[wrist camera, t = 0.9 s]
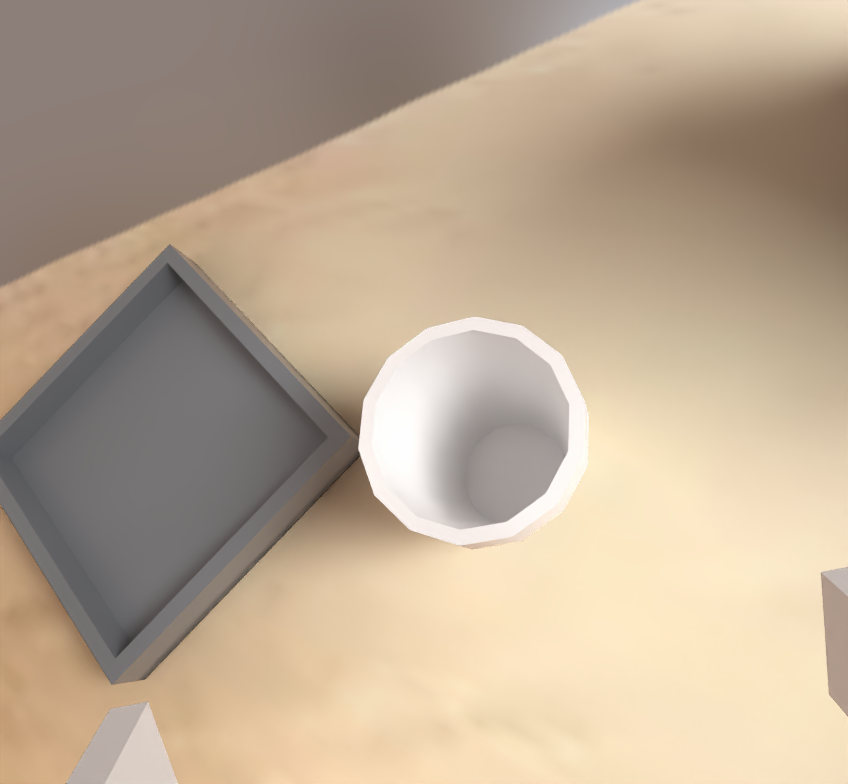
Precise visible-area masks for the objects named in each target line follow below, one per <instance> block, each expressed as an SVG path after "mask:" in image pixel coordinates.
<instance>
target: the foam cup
mask: <svg viewBox="0 0 848 784" xmlns="http://www.w3.org/2000/svg"><path fill="white" fill-rule="evenodd" d="M588 427H589V415H588V411H587V407H586V404H585V401H584V399H583V397H582V394H581V392H580V390H579V388H578V386H577V384H576V382H575V380H574V378H573V376H572V374H571V372H570V370H569V368H568V366H567V364H566V362H565V359H564V357H563V355H561V354H560V353H559V352H557V351H556V350H555V349H553V348H552V347H551V346H549V345H548V344H547V343H545V342H544V341H543V340H541V339H540V338H539V337H537V336H536V335H535V334H533V333H532V332H531V331H529V330H528V329H527V328H525V327H524V326H522V325H517V324H512V323H507V322H501V321H496V320H491V319H486V318H481V317H475V316H474V317H470V318H466V319H462V320H458V321H453V322H449V323H445V324H441V325H437V326H433V327H429V328H426V329H425V330H424V331H422V332H421V333H420V334H418V335H417V336H416V337H414V338H413V339H412V340H410V341H409V342H408V343H406V344H405V345H404V346H402V347H401V348H400V349H399V350H397V351H396V352H395V353H393V354H392V355H391V356H389V357H388V358H387V360H386V362H385V363H384V365H383V367H382V369H381V370H380V372H379V374H378V376H377V377H376V379H375V381H374V383H373V384H372V386H371V388H370V390H369V391H368V393H367V395H366V397H365V398H364V400H363V409H362V418H361V428H360V437H359V447H358V449H359V452H360V455H361V458H362V461H363V464H364V467H365V470H366V473H367V476H368V478H369V481H370V484H371V487H372V490H373V493H374V495H375V496H376V497H377V498H378V499H379V500H380V501H381V502H382V503H383V504H384V505H385V506H386V507H387V508H388V509H389V510H390V511H391V512H392V513H393V514H394V515H395V516H396V517H397V518H398V519H399V520H400V521H401V522H402V523H403V524H404V525H405V526H406V527H407V528H408V529H409V530H411V531H414V532H417V533H420V534H424V535H427V536H430V537H433V538H436V539H440V540H443V541H446V542H449V543H452V544H456V545H459V546H462V547H466V548H469V549H478V548H484V547H490V546H496V545H502V544H508V543H514V542H520V541H523V540H524V539H526V538H527V537H528V536H530V535H531V534H533V533H534V532H535V531H537V530H538V529H540V528H541V527H542V526H544V525H545V524H547V523H548V522H549V521H551V520H552V519H553V518H555V517H556V516H558V515H559V514H560V513H562V512H563V511H564V510H565V508H566V506H567V504H568V502H569V500H570V498H571V496H572V494H573V493H574V491H575V489H576V487H577V485H578V483H579V481H580V479H581V477H582V476H583V474H584V472H585V470H586V468H587V466H588Z"/></svg>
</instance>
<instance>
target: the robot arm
mask: <svg viewBox="0 0 848 784" xmlns="http://www.w3.org/2000/svg"><path fill="white" fill-rule="evenodd" d="M821 580H822V596H823V611H824V626H825V641H826V657H827V672H828V687H829V695H830V696H831V697H832V699H833V700H834V701H835V702H836V703H837V704H838V706H839V707H840V708H841V709H842V710H843V711H844V713H845V714H846V715H847V716H848V567H846V568H841V569H835V570H830V571H825V572H821ZM66 784H178V782H177V780H176V777H175V774H174V771H173V769H172V766H171V763H170V760H169V758H168V755H167V752H166V749H165V747H164V744H163V741H162V739H161V736H160V733H159V730H158V728H157V725H156V722H155V719H154V717H153V714H152V711H151V708H150V706H149V703H148V702H144V703H139V704H134V705H129V706H124V707H118V708H113V709H110V710H109V712H108V714H107V715H106V717H105V719H104V720H103V722H102V724H101V725H100V727H99V729H98V730H97V732H96V734H95V735H94V737H93V739H92V741H91V742H90V744H89V746H88V747H87V749H86V751H85V752H84V754H83V756H82V757H81V759H80V761H79V762H78V764H77V766H76V767H75V769H74V771H73V772H72V774H71V776H70V778H69V779H68V781H67V783H66Z"/></svg>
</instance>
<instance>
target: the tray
mask: <svg viewBox="0 0 848 784" xmlns="http://www.w3.org/2000/svg"><path fill="white" fill-rule="evenodd" d="M359 437H360V436H359V435H358V434H357V433H356V432H355V431H354V430H353V429H352V428H351V427H350V426H349V425H348V424H347V423H346V422H345V421H344V420H343V418H342V417H341V416H340V415H339V414H338V413H337V412H336V411H335V410H334V409H333V408H332V407H331V406H330V405H329V404H328V403H327V402H326V401H325V399H324V398H323V397H322V396H321V395H320V394H319V393H318V392H317V391H316V390H315V389H314V388H313V387H312V386H311V385H310V384H309V383H308V382H307V381H306V379H305V378H304V377H303V376H302V375H301V374H300V373H299V372H298V371H297V370H296V369H295V368H294V367H293V366H292V365H291V364H290V363H289V362H288V361H287V359H286V358H285V357H284V356H283V355H282V354H281V353H280V352H279V351H278V350H277V349H276V348H275V347H274V346H273V345H272V344H271V343H270V342H269V340H268V339H267V338H266V337H265V336H264V335H263V334H262V333H261V332H260V331H259V330H258V329H257V328H256V327H255V326H254V325H253V324H252V323H251V322H250V320H249V319H248V318H247V317H246V316H245V315H244V314H243V313H242V312H241V311H240V310H239V309H238V308H237V307H236V306H235V305H234V304H233V303H232V301H231V300H230V299H229V298H228V297H227V296H226V295H225V294H224V293H223V292H222V291H221V290H220V289H219V288H218V287H217V286H216V285H215V284H214V283H213V281H212V280H211V279H210V278H209V277H208V276H207V275H206V274H205V273H204V272H203V271H202V270H201V269H200V268H199V267H198V266H197V265H196V264H195V263H194V262H193V261H192V260H190V259H189V258H188V257H186V256H185V255H184V254H182V253H181V252H180V251H178V250H177V249H176V248H174V247H173V246H172V245H170V244H169V246H168V247H167V248H166V249H165V250H164V251H163V252H162V253H161V254H160V255H159V256H158V257H157V258H156V259H155V260H154V261H153V262H152V263H151V264H150V265H149V266H148V267H147V268H146V269H145V270H144V272H143V273H142V274H141V275H140V276H139V277H138V278H137V279H136V280H135V281H134V282H133V283H132V284H131V285H130V286H129V287H128V288H127V289H126V290H125V291H124V292H123V293H122V294H121V295H120V296H119V297H118V299H117V300H116V301H115V302H114V303H113V304H112V305H111V306H110V307H109V308H108V309H107V310H106V311H105V312H104V313H103V314H102V315H101V316H100V317H99V318H98V319H97V320H96V321H95V322H94V323H93V325H92V326H91V327H90V328H89V329H88V330H87V331H86V332H85V333H84V334H83V335H82V336H81V337H80V338H79V339H78V340H77V341H76V342H75V343H74V344H73V345H72V346H71V347H70V348H69V349H68V351H67V352H66V353H65V354H64V355H63V356H62V357H61V358H60V359H59V360H58V361H57V362H56V363H55V364H54V365H53V366H52V367H51V368H50V369H49V370H48V371H47V372H46V373H45V374H44V375H43V377H42V378H41V379H40V380H39V381H38V382H37V383H36V384H35V385H34V386H33V387H32V388H31V389H30V390H29V391H28V392H27V393H26V394H25V395H24V396H23V397H22V398H21V399H20V400H19V401H18V403H17V404H16V405H15V406H14V407H13V408H12V409H11V410H10V411H9V412H8V413H7V414H6V415H5V416H4V417H3V418H2V419H1V420H0V504H1V506H2V507H3V509H4V511H5V512H6V514H7V516H8V517H9V519H10V520H11V522H12V524H13V525H14V527H15V529H16V530H17V532H18V533H19V535H20V537H21V538H22V540H23V542H24V543H25V545H26V546H27V548H28V550H29V551H30V553H31V555H32V556H33V558H34V559H35V561H36V563H37V564H38V566H39V568H40V569H41V571H42V572H43V574H44V576H45V577H46V579H47V581H48V582H49V584H50V585H51V587H52V589H53V590H54V592H55V594H56V595H57V597H58V598H59V600H60V602H61V603H62V605H63V607H64V608H65V610H66V611H67V613H68V615H69V616H70V618H71V620H72V621H73V623H74V624H75V626H76V628H77V629H78V631H79V633H80V634H81V636H82V637H83V639H84V641H85V642H86V644H87V646H88V647H89V649H90V650H91V652H92V654H93V655H94V657H95V659H96V660H97V662H98V663H99V665H100V667H101V668H102V670H103V672H104V673H105V675H106V676H107V678H108V680H109V681H110V683H111V685H114V684H120V683H126V682H132V681H138V680H144V679H146V678H147V677H148V676H149V675H150V674H151V673H152V672H153V671H154V669H155V668H156V667H157V666H158V665H159V664H160V663H161V662H162V661H163V660H164V659H165V658H166V657H167V656H168V655H169V654H170V653H171V652H172V651H173V650H174V649H175V648H176V647H177V646H178V645H179V643H180V642H181V641H182V640H183V639H184V638H185V637H186V636H187V635H188V634H189V633H190V632H191V631H192V630H193V629H194V628H195V627H196V626H197V625H198V624H199V623H200V622H201V621H202V620H203V618H204V617H205V616H206V615H207V614H208V613H209V612H210V611H211V610H212V609H213V608H214V607H215V606H216V605H217V604H218V603H219V602H220V601H221V600H222V599H223V598H224V597H225V596H226V595H227V594H228V592H229V591H230V590H231V589H232V588H233V587H234V586H235V585H236V584H237V583H238V582H239V581H240V580H241V579H242V578H243V577H244V576H245V575H246V574H247V573H248V572H249V571H250V570H251V569H252V567H253V566H254V565H255V564H256V563H257V562H258V561H259V560H260V559H261V558H262V557H263V556H264V555H265V554H266V553H267V552H268V551H269V550H270V549H271V548H272V547H273V546H274V545H275V544H276V543H277V541H278V540H279V539H280V538H281V537H282V536H283V535H284V534H285V533H286V532H287V531H288V530H289V529H290V528H291V527H292V526H293V525H294V524H295V523H296V522H297V521H298V520H299V519H300V518H301V517H302V515H303V514H304V513H305V512H306V511H307V510H308V509H309V508H310V507H311V506H312V505H313V504H314V503H315V502H316V501H317V500H318V499H319V498H320V497H321V496H322V495H323V494H324V493H325V492H326V490H327V489H328V488H329V487H330V486H331V485H332V484H333V483H334V482H335V481H336V480H337V479H338V478H339V477H340V476H341V475H342V474H343V473H344V472H345V471H346V470H347V469H348V468H349V467H350V466H351V464H352V463H353V462H354V461H355V460H356V459H357V458H358V457H359V456H360V452H359V449H358V447H359Z"/></svg>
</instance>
